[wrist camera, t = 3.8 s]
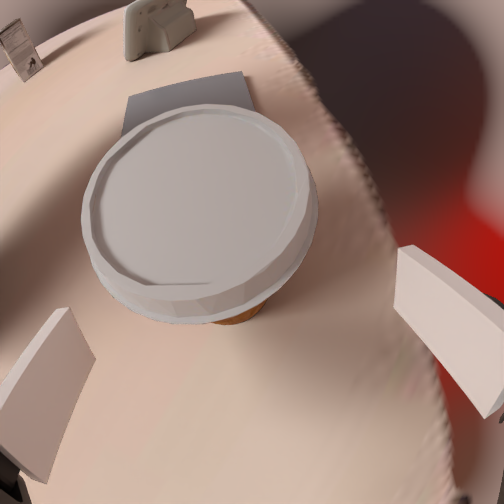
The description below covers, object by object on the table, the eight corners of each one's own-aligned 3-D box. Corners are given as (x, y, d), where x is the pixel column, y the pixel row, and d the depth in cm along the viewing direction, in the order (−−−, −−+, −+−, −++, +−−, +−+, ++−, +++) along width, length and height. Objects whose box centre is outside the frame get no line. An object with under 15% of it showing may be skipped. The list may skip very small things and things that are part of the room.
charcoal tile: (119, 189, 25) (115, 183, 24) (131, 102, 30) (128, 96, 29) (267, 157, 25) (267, 149, 24) (242, 77, 31) (241, 71, 30)
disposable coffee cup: (262, 206, 23) (258, 78, 12) (315, 316, 20) (376, 245, 8) (150, 249, 22) (70, 149, 11) (187, 367, 19) (90, 357, 7)
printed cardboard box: (18, 77, 43) (-6, 34, 28) (38, 61, 45) (16, 18, 30) (23, 83, 40) (-5, 35, 25) (44, 66, 42) (20, 16, 27)
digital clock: (178, 22, 41) (169, -22, 31) (214, 25, 39) (208, -24, 29) (114, 62, 36) (95, 13, 26) (148, 67, 34) (129, 8, 24)
